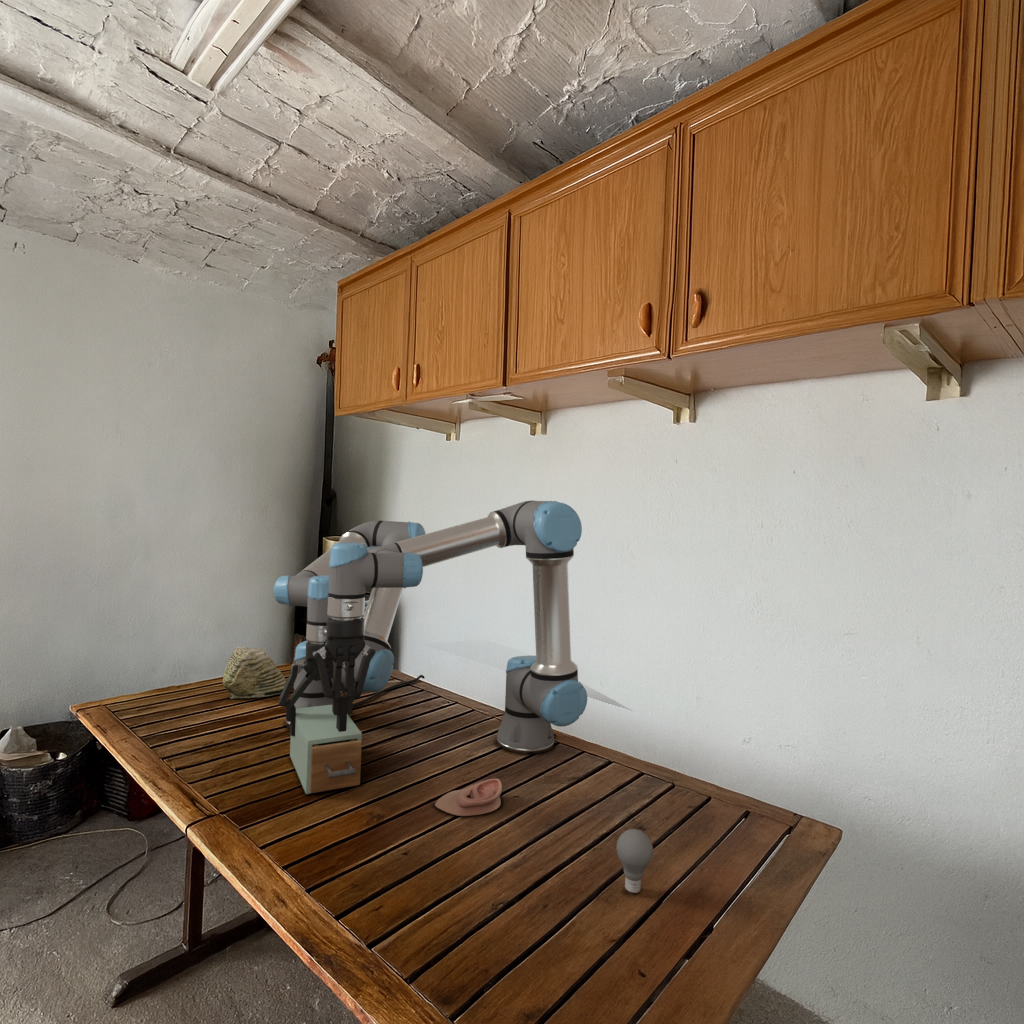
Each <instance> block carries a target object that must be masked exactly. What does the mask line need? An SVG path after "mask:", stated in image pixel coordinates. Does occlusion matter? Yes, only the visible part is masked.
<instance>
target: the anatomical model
mask: <svg viewBox="0 0 1024 1024" xmlns="http://www.w3.org/2000/svg"><path fill="white" fill-rule="evenodd" d="M502 791H503V784H502V780H500V779H499V778H491V779H490V778H489V779H485V780H483V781H480V782H477V783H474V784H471V785H470V786H467V787H465V788H463V789H457V790H452V791H449V792H447V793H446V794H443V795H442V796H441V797H440V798H438V799H436V801H435V802H434V807H436V808H437V809H439V810H441V811H443V812H445V813H447V814H451V815H453V816H458V817H469V816H479V815H484V814H487V813H491V812H494V811H496V810H497V809H499V808H500V807H501V803H502V801H501V800H502V799H501V797H500V796H501V794H502Z"/></svg>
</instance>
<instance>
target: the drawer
mask: <svg viewBox="0 0 1024 1024" xmlns="http://www.w3.org/2000/svg"><path fill="white" fill-rule="evenodd" d="M362 742H363V741H362ZM362 742H361V740H356V741H354V739H350V740H343V741H335V742H328V743H321V744H314V745H312V747H311V772H310V792H311V793H310V794H316V793H321V791H322V792H327V791H333V790H338V789H345V788H349V787H355V786H360V785H361V770H360V768H361V769H362V745H361V743H362ZM344 787H345V788H344Z"/></svg>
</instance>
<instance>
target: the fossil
mask: <svg viewBox="0 0 1024 1024" xmlns="http://www.w3.org/2000/svg"><path fill="white" fill-rule="evenodd" d="M222 676H223V677H222V685H223V687H224V688H225V690H226V691H228V693H229V698H230V699H250V698H264V697H271V696H275V695H281V693H282V691H283V688H284V686H285V684H286V682H287V680H286V678H285V676H284V674H283V673H282V672H281V669H279V668H278V667H277V665H276V663H275V662H274V660H273V659H272V658H271V657H270V656H269V655H268V654H267V653H266V652H265V650H264V649H263V648H260V647H258V648H251V647H247V646H246V647H245V646H238V647H237V648H236V649H235V650H233V651H232V653H231V656H230V657H229V659H228V660H227V663H226V666H225V668H224V671H223V675H222Z"/></svg>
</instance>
